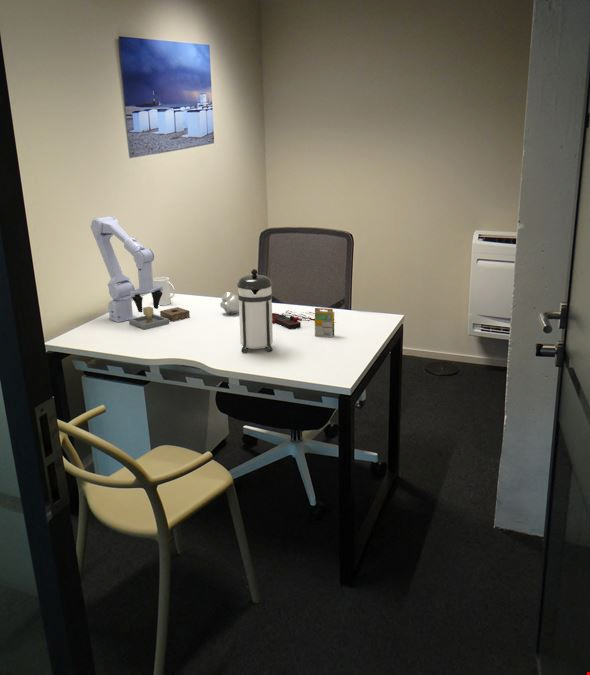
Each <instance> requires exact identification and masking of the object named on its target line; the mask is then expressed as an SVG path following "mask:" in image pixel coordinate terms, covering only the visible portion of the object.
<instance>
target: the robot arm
mask: <svg viewBox="0 0 590 675" xmlns="http://www.w3.org/2000/svg"><path fill="white" fill-rule="evenodd" d="M119 222H120V221H119V220H118V219H117V218H116V217H115V216H114V215H110V216H104V217H98V218H96V217H95V218H93V219H92V220H91V224H90V229H91V231H92V234H93V237H94V240H95V242H96V245H97V247H98V249H99V252H100V255H101V257H102V259H103V262H104V264H105V267H106V269H107V272H108V275H109V277H110V279H109V282H108V283H107V287H108V294H109V295H110V298H111V301H109V302H108V305H107V306H108V314H109V316H108V317H109V318H108V319H109V320H111V321H114V322H116V323H120V322H125V321H129V319H133V318H137V316H136V315H134V313H133V311H134V310H133V304H132V303H133V302H134V303H135V306H136V308H137V312H138V313H143V299H144V298H143V297H142V296H141V295H145V294H146V295H147V294H150V295H151V297H152V304H153V309H155V310H158V309H159V306H158V305H159V301H160V298H161V296H162V292H161V291H163V286H153V278H154V277H153V276H154V275H153V265H152V262H153V261H154V260H155V254H154V252H153V250H152V249H151V248H149V247H144V245H142V244H141V243H140V242H139V241H138V240H137V238H135V237H130V236H129V235H128V233H127V232H125V230H124V229H123V228H122V227H121V225H120V223H119ZM113 236H114V237H116V239H118V240H120V242H122V243H123V248H124V250H126V251H127V252H129V254H130V255H131V256H133V261H134V262H135V266H136V269H137V275H138V288H137V289H135V288H136V287H135V285H134V284H133V282H132V281H131V280H130V277H128V276H126V275H125V274H124V273H123V271H122V269H121V266H120V263H119V260H118V258H117V255H116V253H115V250H114V248H113V246H112V243H111V238H112V237H113ZM132 300H133V301H132Z"/></svg>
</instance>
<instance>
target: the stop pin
mask: <svg viewBox="0 0 590 675" xmlns="http://www.w3.org/2000/svg"><path fill="white" fill-rule="evenodd" d="M142 313H143V316H145V318H146V323H151V322H152V315H154V314H155V313H154V307H152V306H145V307H142Z"/></svg>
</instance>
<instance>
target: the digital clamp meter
mask: <svg viewBox="0 0 590 675" xmlns="http://www.w3.org/2000/svg"><path fill="white" fill-rule="evenodd" d="M308 312H309V313H310V314H313V315H314V314H315V312H312V311H308ZM284 313H289V315H288V314H284ZM291 313H292V312H288V310H286V311H285V312H282V313H281V314H280V313H277V312H272V324H276V323H277V324H276V325H278V326H280V325H281V326H280V327H283V328H285V329H287V330H297V329H299V328H300V329H301V326H302V325H301V323H302V321H306V322H310V321H313V322H315V318H314V319H311V318H312V317H310V318H309V317H306V315H305V314H303V313H300V314H301V315H302V316H301V315H298V314H291ZM309 313H308V314H309ZM306 319H307V320H306ZM296 328H297V329H296Z"/></svg>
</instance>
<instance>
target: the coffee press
mask: <svg viewBox="0 0 590 675" xmlns="http://www.w3.org/2000/svg"><path fill="white" fill-rule="evenodd" d="M236 287H237V289H238V290H237V291H238V293H237V296H238V299H239V312H238V313H239V314H238V315H239V336H240V339H239V340H240V344H241V345H242V347H241V351H240V352H241V353H243V354H246V353H247V352H248V351H249V349H253V350H254V349H255V350H257V349H265V351H266V352H267V353H271V352H273V347H272V346H271V345H272V344H273V338H274V337H273V323H272V313H273V301H272V299H273V292H272V287H273V281H272V280H271V279H270V278H269V277H268V276H266V275H262V274H258V270H257V269H256V268H253V269H252V270H251V272H250V274H249V275H244V276H242V277H241V278H240V279H239V280H238V282H237V284H236Z"/></svg>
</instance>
